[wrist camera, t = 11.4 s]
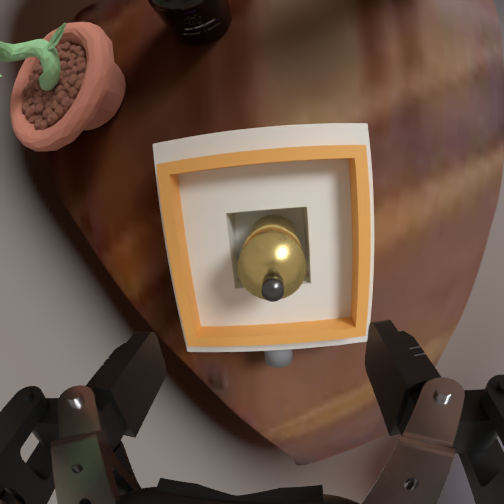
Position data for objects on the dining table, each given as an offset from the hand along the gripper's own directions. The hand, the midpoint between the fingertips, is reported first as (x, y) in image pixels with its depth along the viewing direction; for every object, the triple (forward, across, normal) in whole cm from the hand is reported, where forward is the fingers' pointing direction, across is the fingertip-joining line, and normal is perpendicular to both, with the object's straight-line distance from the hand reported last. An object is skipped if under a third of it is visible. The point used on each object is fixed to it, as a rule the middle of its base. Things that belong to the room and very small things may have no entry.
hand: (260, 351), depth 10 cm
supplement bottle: (+21, +5, -25) cm, 33 cm away
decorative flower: (+21, +19, -19) cm, 34 cm away
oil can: (+18, 0, 0) cm, 18 cm away
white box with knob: (+20, 0, +2) cm, 20 cm away
